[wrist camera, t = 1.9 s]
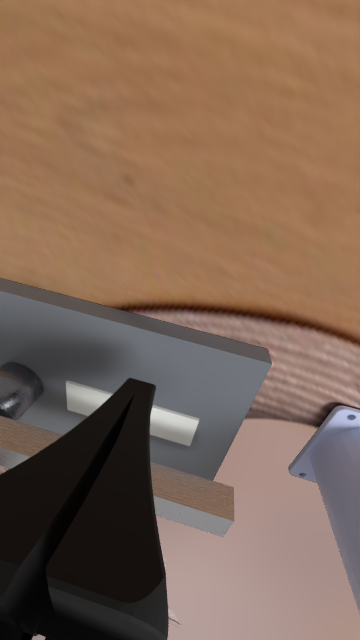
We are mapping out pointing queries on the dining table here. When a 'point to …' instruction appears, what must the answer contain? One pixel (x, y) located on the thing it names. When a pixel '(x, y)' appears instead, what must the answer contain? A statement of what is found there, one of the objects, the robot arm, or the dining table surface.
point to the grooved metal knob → (18, 389)
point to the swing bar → (168, 484)
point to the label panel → (132, 372)
